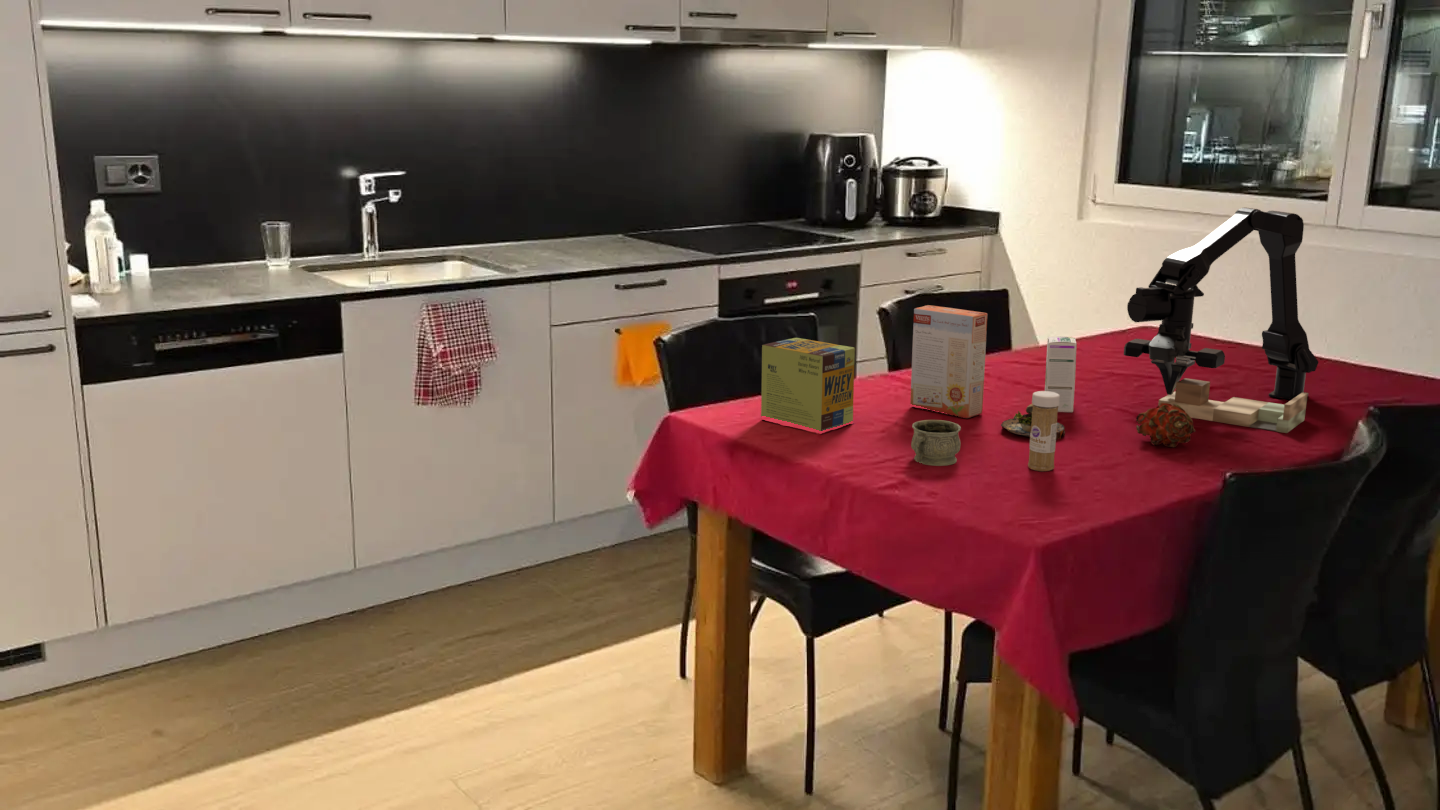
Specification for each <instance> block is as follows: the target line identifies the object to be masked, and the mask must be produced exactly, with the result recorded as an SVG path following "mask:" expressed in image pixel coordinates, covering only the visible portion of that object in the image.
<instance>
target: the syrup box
mask: <svg viewBox="0 0 1440 810" xmlns="http://www.w3.org/2000/svg"><path fill="white" fill-rule="evenodd" d="M1076 340H1077V339H1076V337H1072V336H1071V337H1070V336H1047V342H1046V343H1047V344H1046V359H1045V360H1046V361H1045V376H1044V377H1045V379H1044V381H1045V382H1044V391H1050V392H1055V393H1057V394H1059V396H1060V400H1059V407H1058V413H1073V412H1074V404H1075V403H1074V402H1075V389H1076V388H1075V386H1076V367H1077V366H1076V364H1077V346H1078V345H1077V341H1076Z"/></svg>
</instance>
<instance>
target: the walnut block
mask: <svg viewBox="0 0 1440 810" xmlns="http://www.w3.org/2000/svg"><path fill="white" fill-rule="evenodd" d="M1210 387H1211V381H1206V380H1201V379H1194V378H1186V377H1185V378H1183V379H1180V381H1179V382H1177V383H1176V388H1175V391H1176V393H1175V402H1179V403H1185V404H1191V405H1197V406H1200V405H1202V404H1204V403H1206V402H1208V400H1210V399H1209V397H1210V396H1209V395H1210Z"/></svg>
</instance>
